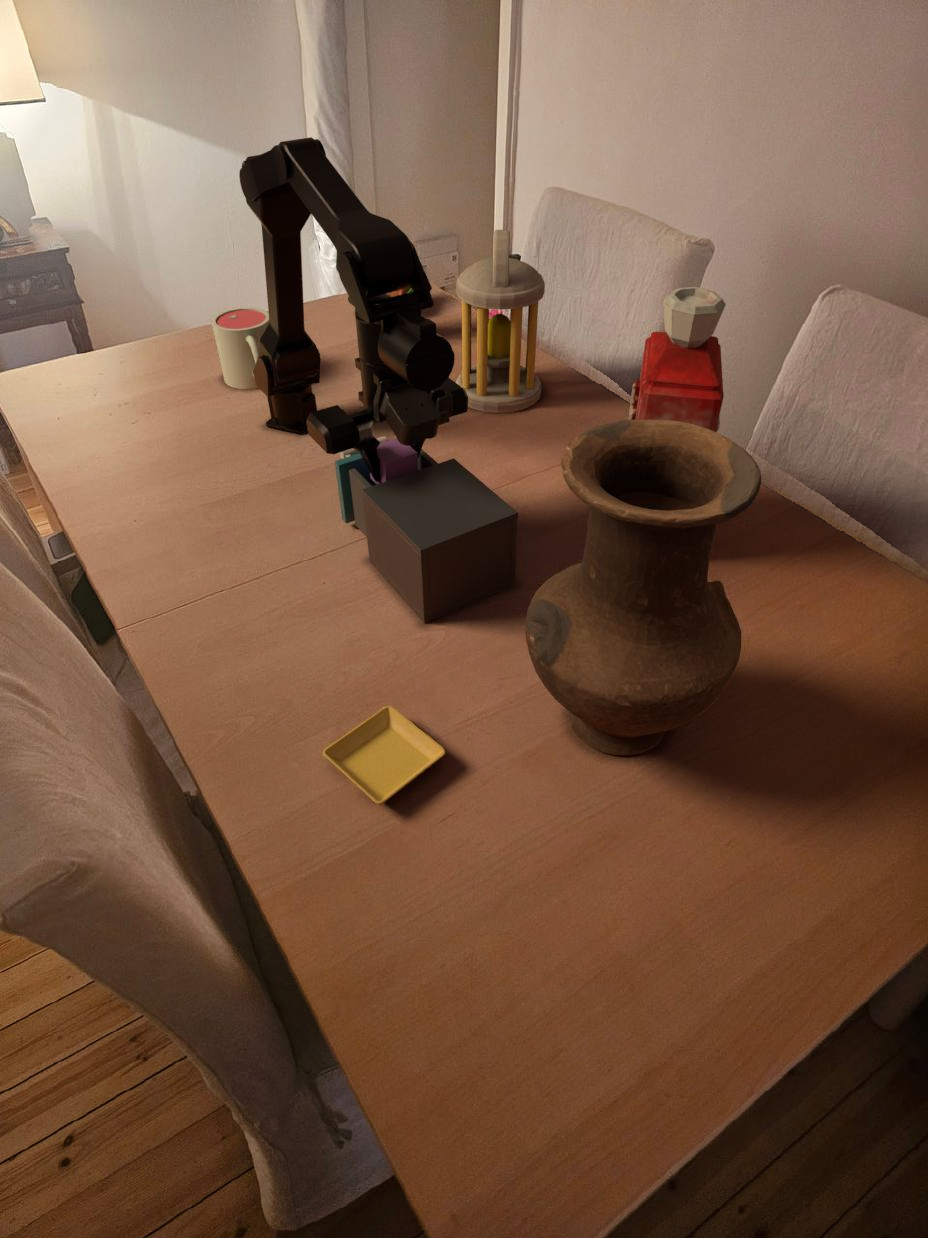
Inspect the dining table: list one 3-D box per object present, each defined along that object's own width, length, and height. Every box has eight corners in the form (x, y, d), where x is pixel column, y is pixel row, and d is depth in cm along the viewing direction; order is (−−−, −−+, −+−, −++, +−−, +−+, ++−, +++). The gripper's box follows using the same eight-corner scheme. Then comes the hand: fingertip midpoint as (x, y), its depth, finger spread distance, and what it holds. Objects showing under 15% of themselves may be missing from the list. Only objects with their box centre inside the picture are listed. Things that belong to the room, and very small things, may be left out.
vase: (717, 670, 88) (790, 419, 68) (706, 819, 74) (794, 561, 54) (541, 637, 92) (561, 391, 72) (500, 773, 78) (510, 516, 58)
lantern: (456, 371, 140) (454, 214, 123) (539, 372, 140) (549, 215, 123) (452, 412, 130) (449, 247, 113) (542, 413, 129) (553, 248, 112)
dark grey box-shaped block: (369, 561, 102) (361, 489, 95) (455, 528, 107) (453, 457, 100) (424, 623, 94) (420, 550, 87) (514, 585, 99) (518, 512, 92)
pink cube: (387, 495, 100) (384, 463, 97) (370, 478, 103) (367, 446, 100) (419, 484, 102) (417, 452, 99) (401, 467, 104) (399, 436, 101)
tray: (328, 504, 110) (320, 446, 104) (402, 478, 114) (399, 421, 108) (387, 570, 100) (382, 510, 94) (466, 539, 104) (466, 480, 98)
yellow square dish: (322, 764, 79) (319, 751, 78) (390, 716, 84) (388, 702, 82) (380, 819, 75) (378, 805, 73) (448, 765, 79) (448, 751, 78)
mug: (218, 370, 141) (206, 313, 134) (271, 360, 144) (261, 303, 137) (237, 405, 132) (225, 345, 125) (293, 393, 135) (284, 334, 128)
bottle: (692, 564, 101) (748, 327, 81) (609, 554, 103) (643, 319, 83) (692, 499, 112) (742, 274, 91) (616, 490, 113) (649, 268, 93)
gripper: (341, 406, 82) (356, 531, 93) (495, 360, 90) (492, 482, 100) (295, 364, 89) (314, 485, 100) (442, 325, 97) (445, 442, 107)
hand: (393, 474), depth 102 cm, fingers closed on pink cube, 4 cm apart
